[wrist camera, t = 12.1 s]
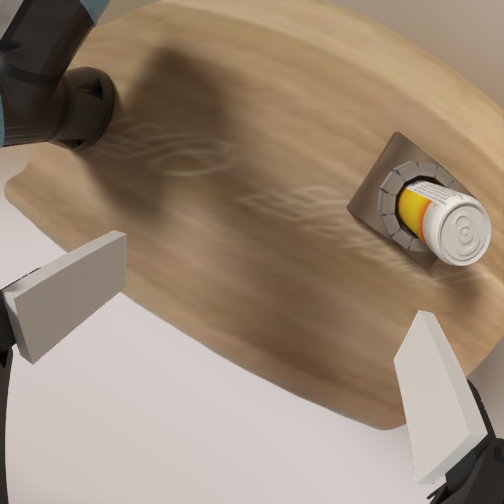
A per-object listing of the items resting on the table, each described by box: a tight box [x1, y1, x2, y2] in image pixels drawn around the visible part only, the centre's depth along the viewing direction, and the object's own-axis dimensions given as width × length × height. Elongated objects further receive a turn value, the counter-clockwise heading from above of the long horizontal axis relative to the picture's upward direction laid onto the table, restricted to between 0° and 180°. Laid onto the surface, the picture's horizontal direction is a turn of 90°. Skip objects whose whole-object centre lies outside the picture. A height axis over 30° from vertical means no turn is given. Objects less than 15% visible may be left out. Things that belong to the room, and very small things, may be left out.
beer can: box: [396, 180, 491, 266], centre depth 26 cm, size 6×6×15 cm
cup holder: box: [347, 132, 477, 270], centre depth 33 cm, size 14×12×6 cm
